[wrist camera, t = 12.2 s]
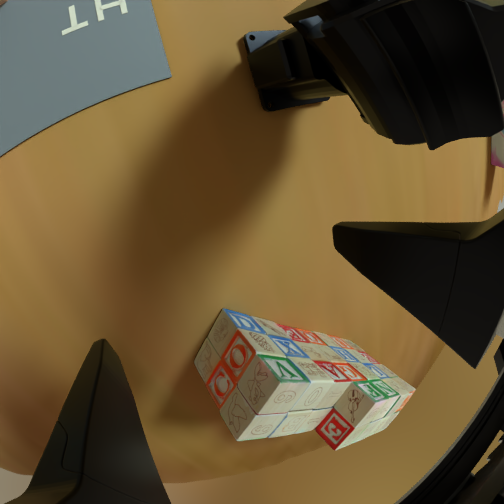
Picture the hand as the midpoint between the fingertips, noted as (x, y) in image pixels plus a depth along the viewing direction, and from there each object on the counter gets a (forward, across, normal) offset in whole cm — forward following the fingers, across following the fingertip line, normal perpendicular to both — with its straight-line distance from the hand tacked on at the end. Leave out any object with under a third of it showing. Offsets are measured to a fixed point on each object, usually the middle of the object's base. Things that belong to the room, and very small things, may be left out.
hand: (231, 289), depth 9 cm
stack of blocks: (+11, -6, +19) cm, 23 cm away
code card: (+11, +5, -19) cm, 22 cm away
